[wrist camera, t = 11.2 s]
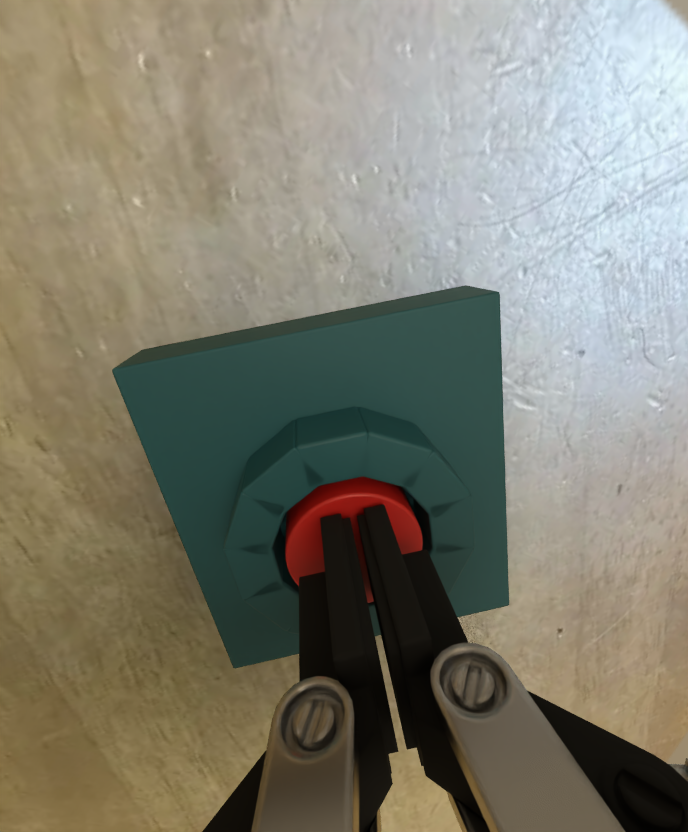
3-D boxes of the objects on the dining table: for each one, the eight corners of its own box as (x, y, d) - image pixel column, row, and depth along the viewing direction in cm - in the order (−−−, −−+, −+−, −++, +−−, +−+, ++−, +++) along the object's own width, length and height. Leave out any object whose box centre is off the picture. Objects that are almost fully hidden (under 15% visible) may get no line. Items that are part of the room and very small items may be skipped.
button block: (140, 349, 12) (74, 392, 9) (467, 284, 13) (539, 299, 9) (240, 617, 16) (225, 724, 13) (483, 563, 17) (537, 651, 13)
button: (273, 474, 12) (270, 511, 10) (399, 448, 12) (416, 479, 10) (300, 573, 13) (301, 619, 11) (413, 548, 13) (429, 590, 11)
